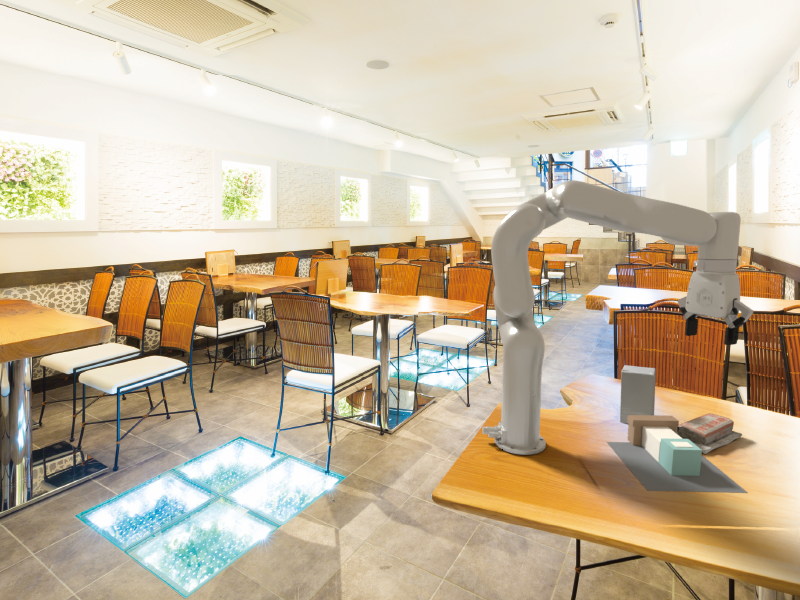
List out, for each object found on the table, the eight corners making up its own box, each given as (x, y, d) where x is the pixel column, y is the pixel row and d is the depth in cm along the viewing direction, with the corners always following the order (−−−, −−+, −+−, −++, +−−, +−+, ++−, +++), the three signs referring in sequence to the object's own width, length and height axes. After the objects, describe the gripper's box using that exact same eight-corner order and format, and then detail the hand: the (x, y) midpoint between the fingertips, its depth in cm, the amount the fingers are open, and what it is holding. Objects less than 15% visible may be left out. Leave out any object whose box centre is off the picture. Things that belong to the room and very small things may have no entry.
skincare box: (653, 421, 130) (658, 367, 127) (651, 431, 124) (656, 374, 121) (620, 415, 134) (624, 363, 132) (617, 424, 128) (621, 369, 126)
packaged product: (701, 408, 126) (743, 420, 118) (700, 425, 127) (742, 438, 119) (665, 422, 117) (707, 436, 109) (664, 440, 118) (706, 455, 109)
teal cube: (671, 475, 101) (673, 449, 100) (659, 462, 106) (661, 437, 105) (699, 475, 100) (702, 449, 100) (685, 463, 106) (688, 438, 105)
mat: (647, 492, 95) (647, 490, 95) (606, 443, 117) (606, 441, 117) (747, 494, 94) (747, 492, 94) (687, 444, 116) (687, 443, 116)
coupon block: (647, 462, 107) (649, 435, 106) (625, 438, 118) (626, 414, 117) (696, 462, 106) (698, 435, 105) (669, 439, 118) (671, 415, 117)
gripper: (670, 265, 112) (665, 333, 115) (742, 270, 96) (735, 350, 98) (693, 263, 114) (688, 330, 117) (767, 268, 98) (759, 346, 101)
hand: (709, 339), depth 108 cm, fingers open, 9 cm apart
